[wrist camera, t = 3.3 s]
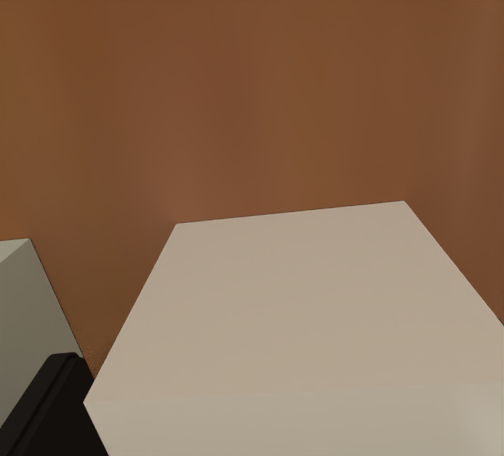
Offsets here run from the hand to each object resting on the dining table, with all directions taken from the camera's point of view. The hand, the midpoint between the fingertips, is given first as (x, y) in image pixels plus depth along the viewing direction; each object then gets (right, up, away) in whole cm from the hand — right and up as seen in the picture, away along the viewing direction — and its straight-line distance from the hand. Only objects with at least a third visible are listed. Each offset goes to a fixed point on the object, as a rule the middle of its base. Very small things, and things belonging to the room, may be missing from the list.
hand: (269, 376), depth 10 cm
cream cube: (+1, +1, +2) cm, 3 cm away
